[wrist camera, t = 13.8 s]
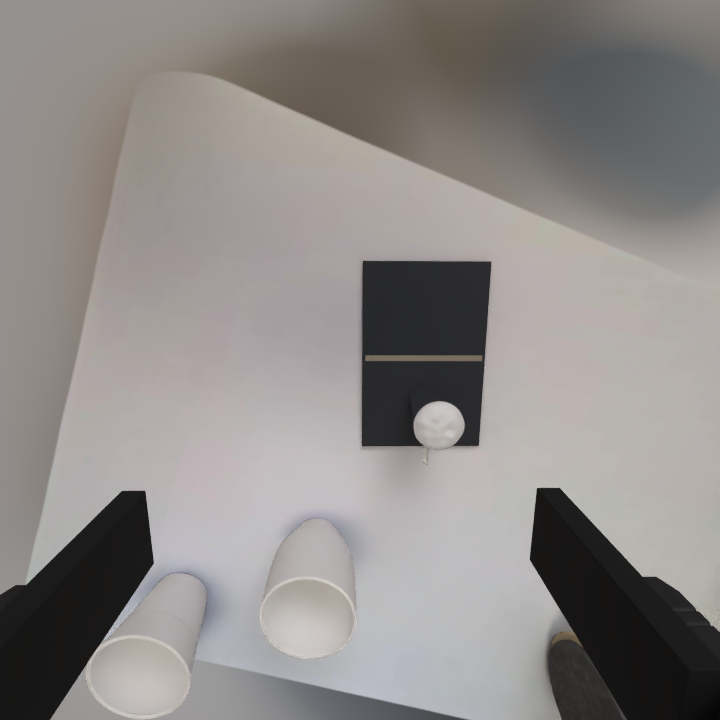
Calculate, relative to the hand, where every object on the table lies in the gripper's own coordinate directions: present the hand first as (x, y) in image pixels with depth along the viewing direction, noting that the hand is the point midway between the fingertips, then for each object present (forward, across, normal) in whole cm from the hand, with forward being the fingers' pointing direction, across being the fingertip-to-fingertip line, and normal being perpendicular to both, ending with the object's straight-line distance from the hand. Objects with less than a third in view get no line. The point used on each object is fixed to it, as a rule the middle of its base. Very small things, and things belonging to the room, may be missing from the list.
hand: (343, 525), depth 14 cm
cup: (+32, -20, -30) cm, 48 cm away
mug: (+32, -4, -24) cm, 40 cm away
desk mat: (+32, +8, -1) cm, 33 cm away
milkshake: (+31, +8, -6) cm, 33 cm away
